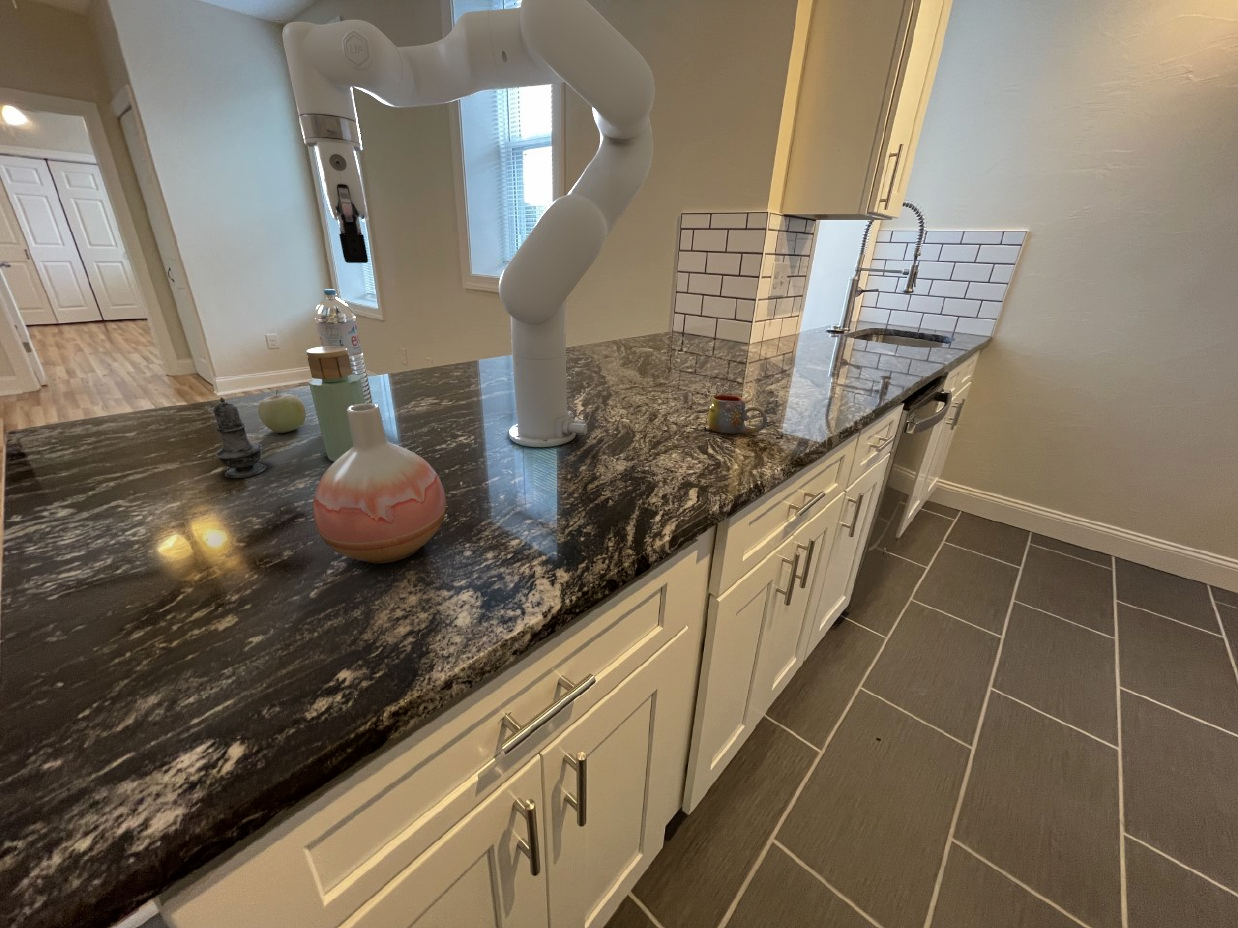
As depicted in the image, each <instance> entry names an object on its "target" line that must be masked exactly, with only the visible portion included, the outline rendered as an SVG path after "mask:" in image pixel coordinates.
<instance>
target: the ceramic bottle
mask: <svg viewBox="0 0 1238 928" xmlns="http://www.w3.org/2000/svg"><path fill="white" fill-rule="evenodd" d="M308 384H309V385H308V386H309V389H310V393H311V397H312V401H313V405H314V409H315V413H316V417H317V421H318V425H319V429H320V433H321V436H322V440H323V445H324V448H325V452H326V456H327V459H328V460H329V461H331V462H335V461H336V460H337V459H338V458H339V457H341V456H342V455H343V454H344V453H346V452H347V451H348V450H350V449H351V448H352V447H353V441H352V435H351V430H350V425H349V420H348V415H347V409H348V408H349V407H351V406H353V405H357V404H364V403H365V399H364V394H363V389H362V384H361V379H360V376H358V375H353V374H352V375H349V376H346V377H342V378H341V377H340V378H334V379H317V378H312V379H310V380H309V381H308Z"/></svg>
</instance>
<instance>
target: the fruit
mask: <svg viewBox="0 0 1238 928" xmlns="http://www.w3.org/2000/svg"><path fill="white" fill-rule="evenodd" d="M278 393H279V390H277V389H275V394H273V395H270V396H266V397H265V398H264V399H262V400H261V401H260V402H259V404H258V406H257V414H258V418H259V419H260V421H261V423H262V424H263V425H264V426H265V427H266V428H267V429H269V430H270V431H273V432H275V433H277V434H278V433H279V434H283V433H289V432H291V431H295V430H297V429H299V428H301V427H302V426H303V425H304V423H305V421H306V417H307V412H306V407H305V404H304V403H303V401H302V400H301V399H300V398H299V397H298V396H296V395H294V394H291V393H280V394H278Z"/></svg>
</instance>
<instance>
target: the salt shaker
mask: <svg viewBox="0 0 1238 928" xmlns="http://www.w3.org/2000/svg"><path fill="white" fill-rule="evenodd" d="M212 411H213V414H214V417H215V420H216V423H217V427H216V428H215V429H216V431H217V432H219V433H220V437H221V439H222V445H223V446H222V448H220V449H218V450H217V451H216V452H215V454H214V456H215V457H216V458H218V459H219V461H220V462H221V463H222V465H224V466H225V467H228V468H229V469H228V470H226V472H225V473H224V477H226V478H227V479H245V478H250V477H253V476H256V475H258V474H259V475H260V474H261V473H263V472H264V471H266V469H267V466H266V464H264V463H260V462H259V460H260V459H261V458H262V449H263V445H262V444H260V443H256V442H251V440H250V438H249V437H248V434H247V432H246V429H245V427H247V424H246V423H244V422H243V420H242V418H241V415H240V411H239V409H238V406H237V405H236V404H234V403H232V402H226V399H225V398H223V397H220V399H219V403H218V404H217V405H215V406H214V407H213V410H212Z"/></svg>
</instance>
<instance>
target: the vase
mask: <svg viewBox="0 0 1238 928" xmlns="http://www.w3.org/2000/svg"><path fill="white" fill-rule="evenodd" d="M347 415H348V420H349V425H350V430H351V435H352V441H353V447H352V448H351V449H350V450H348V451H347V452H346V453H344V454H343V455H342V456H341V457H339V458H338V459H337V460H336V461H333V463H332V464H331V465H330V466H329V467H328V468H327V470H325V472H324V473H323V475H322V476H321V478H320V479H319V482H318V484H317V486H316V489H315V491H314V496H313V503H312V504H313V505H312V512H313V513H312V514H313V516H312V517H313V521H314V525H315V527H316V530H317V533H318V534H319V537H320V538H321V539H322V540H323V542H324V544H326V545H327V546H328V547H329V548H331V549H332V550H334V551H335V552H336V553H338V554H340V555H342V556H343V557H346V558H349V559H352V560H356V561H360V562H361V561H362V562H364V563H368V564H375V565H378V564H379V565H381V564H382V565H383V564H389V563H395V562H399V561H402V560H404V559H407V558H409V557H410V556H412V555H414V554H416V553H417V552H418V551H419V550H420V549H421V548H422V547H423V546H425V545H426V544H427V543H428V542H430V540H432V539H433V537H434V536H435V535H436V534H437V532H438V531H439V529H440V528H441V526H442V524H443V522H444V519H445V516H446V512H447V495H446V491H445V488H444V485H443V483H442V480H441V477H440V476H439V474H438V473H437V471H436V470H435V469H434V467H432V465H430V463H429V462H428V461H427V460H425V459H424V458H423V457H421V456H420V455H418V454H417V453H415V452H414V451H411V450H409V449H408V448H406V447H403V446H401V445H397V444H394V443H392V442H390V441H388V440H387V436H386V432H385V427H384V423H383V418H382V413H381V408H380V406H379V405H378V404H376V403H373V404H372V403H364V404H357V405H353V406H351V407H349V408H348V409H347Z"/></svg>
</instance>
